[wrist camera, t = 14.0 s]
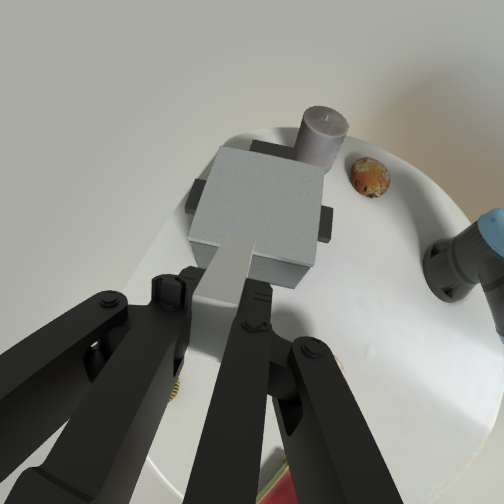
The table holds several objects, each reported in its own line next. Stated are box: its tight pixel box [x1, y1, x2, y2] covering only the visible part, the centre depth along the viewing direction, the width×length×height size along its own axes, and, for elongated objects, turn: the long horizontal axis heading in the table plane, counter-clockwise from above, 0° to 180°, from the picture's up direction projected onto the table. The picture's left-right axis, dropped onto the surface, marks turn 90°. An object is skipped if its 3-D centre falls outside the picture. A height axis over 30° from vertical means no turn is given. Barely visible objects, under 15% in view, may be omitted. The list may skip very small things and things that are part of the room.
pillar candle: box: [294, 106, 349, 174], centre depth 58 cm, size 10×10×15 cm
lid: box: [187, 140, 324, 267], centre depth 45 cm, size 18×21×1 cm
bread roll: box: [351, 157, 390, 198], centre depth 62 cm, size 10×10×8 cm
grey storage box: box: [184, 179, 333, 289], centre depth 50 cm, size 24×18×12 cm
